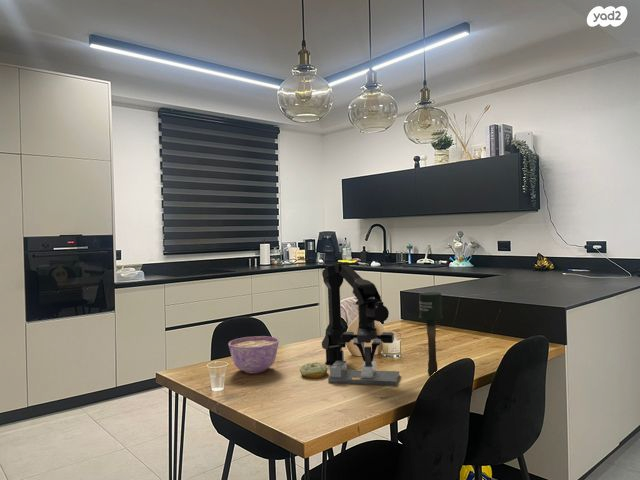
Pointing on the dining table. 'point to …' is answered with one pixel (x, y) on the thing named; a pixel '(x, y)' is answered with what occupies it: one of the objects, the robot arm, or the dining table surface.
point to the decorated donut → (313, 370)
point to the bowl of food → (254, 353)
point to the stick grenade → (431, 323)
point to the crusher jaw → (368, 365)
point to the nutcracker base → (346, 376)
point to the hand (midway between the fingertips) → (368, 361)
